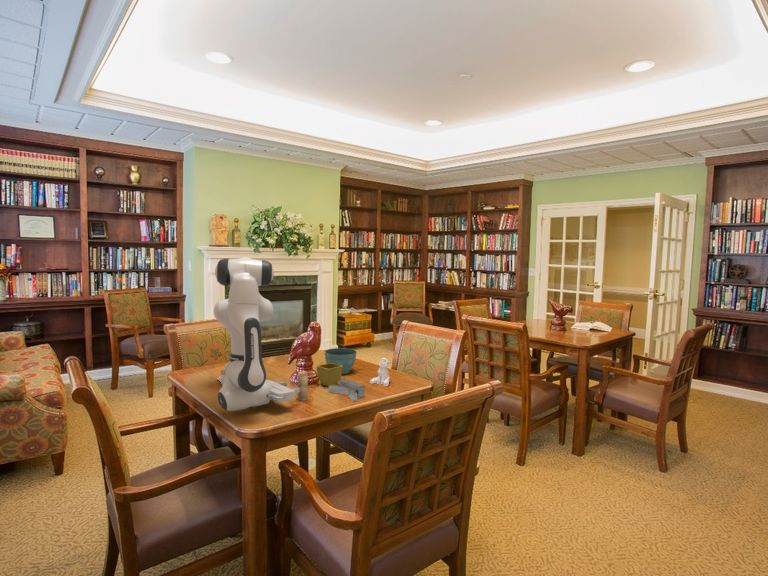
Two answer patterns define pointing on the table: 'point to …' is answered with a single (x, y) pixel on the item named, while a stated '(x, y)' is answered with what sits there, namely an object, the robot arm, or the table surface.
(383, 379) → the sitting furry creature
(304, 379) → the dowel
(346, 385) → the crossed grey wooden bars
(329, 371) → the flower pot
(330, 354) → the flower pot
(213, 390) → the table surface
